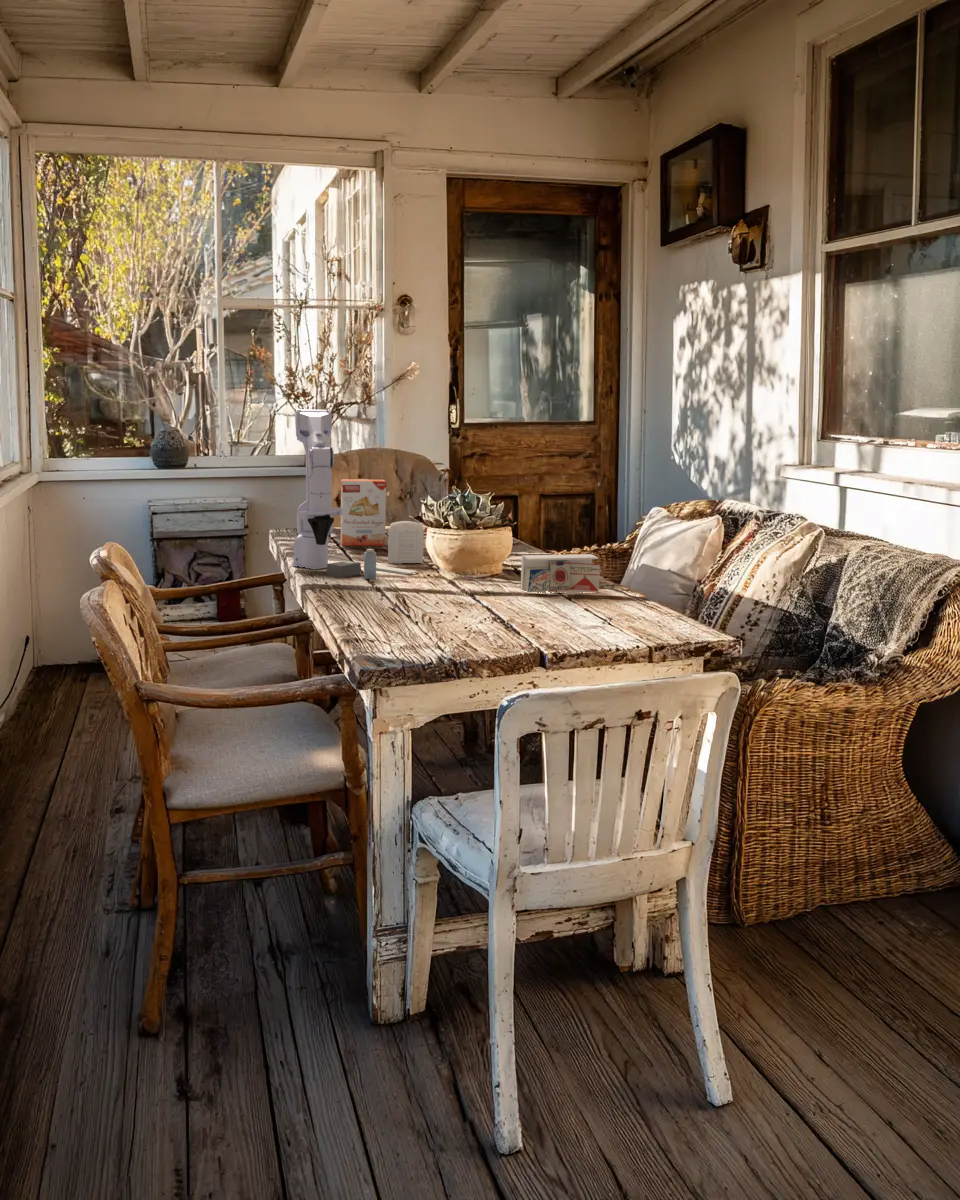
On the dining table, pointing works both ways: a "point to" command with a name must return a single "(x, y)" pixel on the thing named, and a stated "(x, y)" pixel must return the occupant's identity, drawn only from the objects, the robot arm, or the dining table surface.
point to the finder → (344, 569)
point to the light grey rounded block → (405, 542)
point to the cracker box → (363, 512)
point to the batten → (395, 570)
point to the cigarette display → (559, 573)
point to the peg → (370, 564)
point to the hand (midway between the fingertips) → (320, 544)
